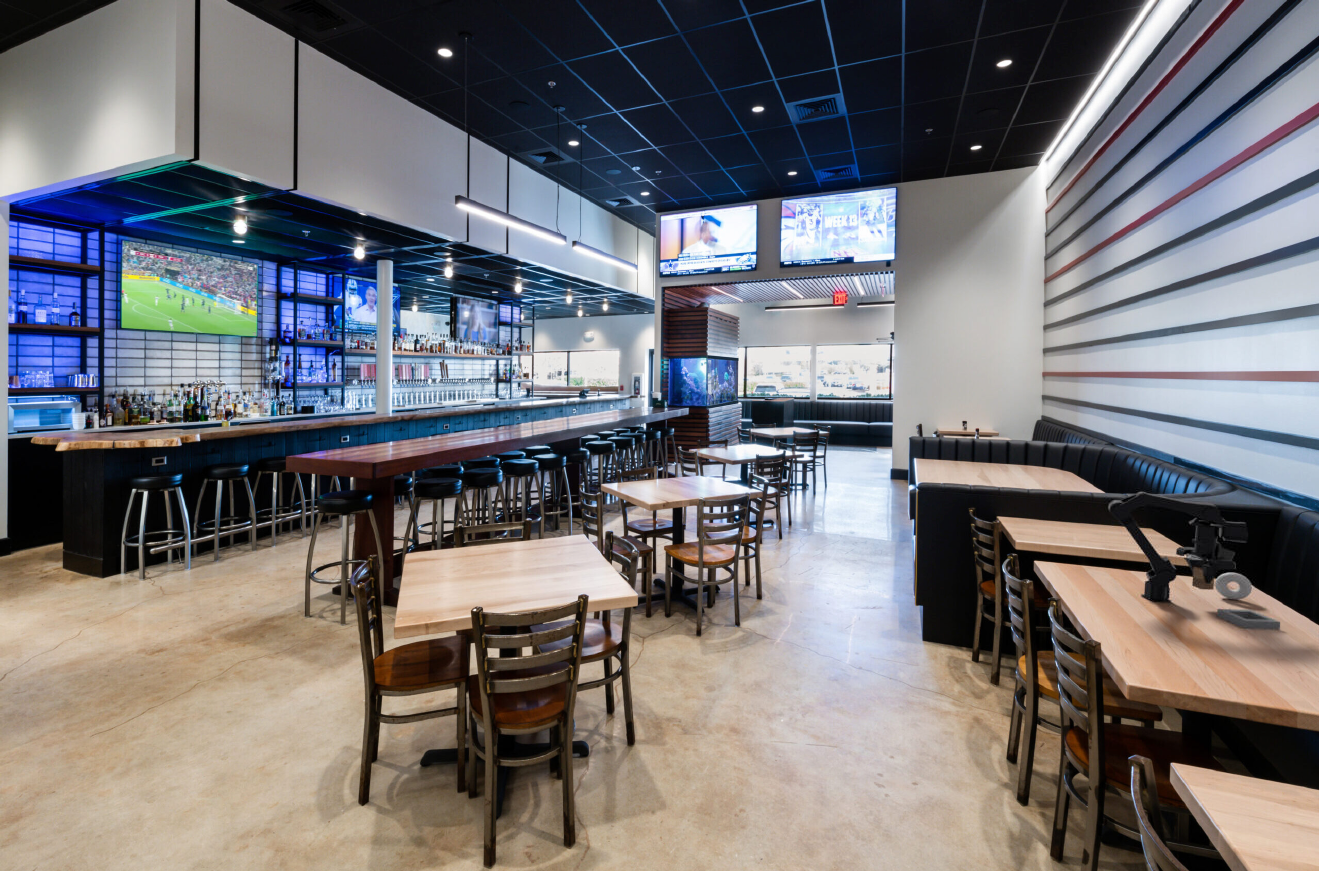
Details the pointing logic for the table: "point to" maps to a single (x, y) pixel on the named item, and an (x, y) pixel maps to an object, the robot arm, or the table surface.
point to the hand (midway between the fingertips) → (1203, 581)
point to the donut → (1233, 594)
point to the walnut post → (1201, 579)
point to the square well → (1248, 619)
